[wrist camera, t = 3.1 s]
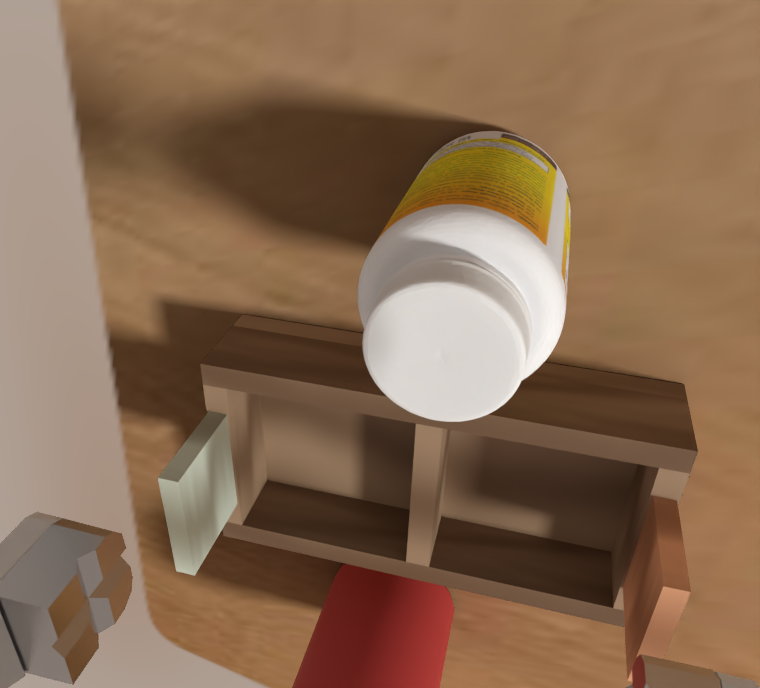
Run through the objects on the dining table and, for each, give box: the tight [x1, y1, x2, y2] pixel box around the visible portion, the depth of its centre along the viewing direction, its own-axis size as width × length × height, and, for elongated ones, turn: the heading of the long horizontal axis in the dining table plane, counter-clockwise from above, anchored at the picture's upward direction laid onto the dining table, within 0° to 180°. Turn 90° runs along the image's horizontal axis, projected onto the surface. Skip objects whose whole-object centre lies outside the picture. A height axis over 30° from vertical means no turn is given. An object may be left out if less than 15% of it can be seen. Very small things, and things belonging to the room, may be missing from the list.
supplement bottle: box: [358, 131, 571, 422], centre depth 20 cm, size 6×6×10 cm
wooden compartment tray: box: [158, 314, 698, 682], centre depth 27 cm, size 10×18×8 cm, turn 88°
